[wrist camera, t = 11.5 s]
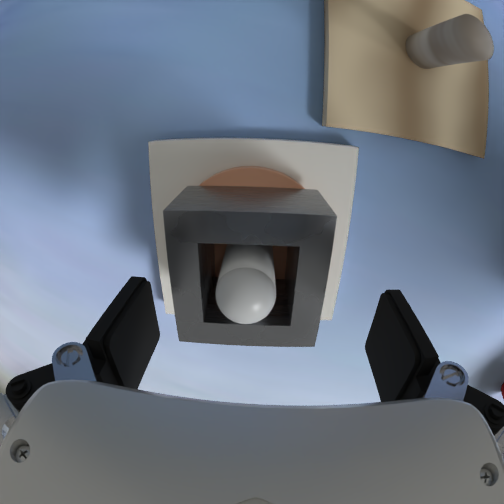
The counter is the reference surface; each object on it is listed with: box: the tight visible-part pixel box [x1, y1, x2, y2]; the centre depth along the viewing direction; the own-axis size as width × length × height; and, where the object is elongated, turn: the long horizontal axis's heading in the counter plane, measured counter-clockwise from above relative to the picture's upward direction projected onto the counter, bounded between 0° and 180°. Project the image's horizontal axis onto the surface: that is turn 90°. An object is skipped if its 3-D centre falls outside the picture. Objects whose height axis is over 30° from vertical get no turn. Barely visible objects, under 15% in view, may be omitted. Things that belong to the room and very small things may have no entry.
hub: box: [148, 138, 359, 324], centre depth 15 cm, size 12×12×8 cm
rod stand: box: [322, 0, 494, 159], centre depth 10 cm, size 12×12×7 cm
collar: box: [163, 186, 337, 347], centre depth 15 cm, size 7×7×4 cm
